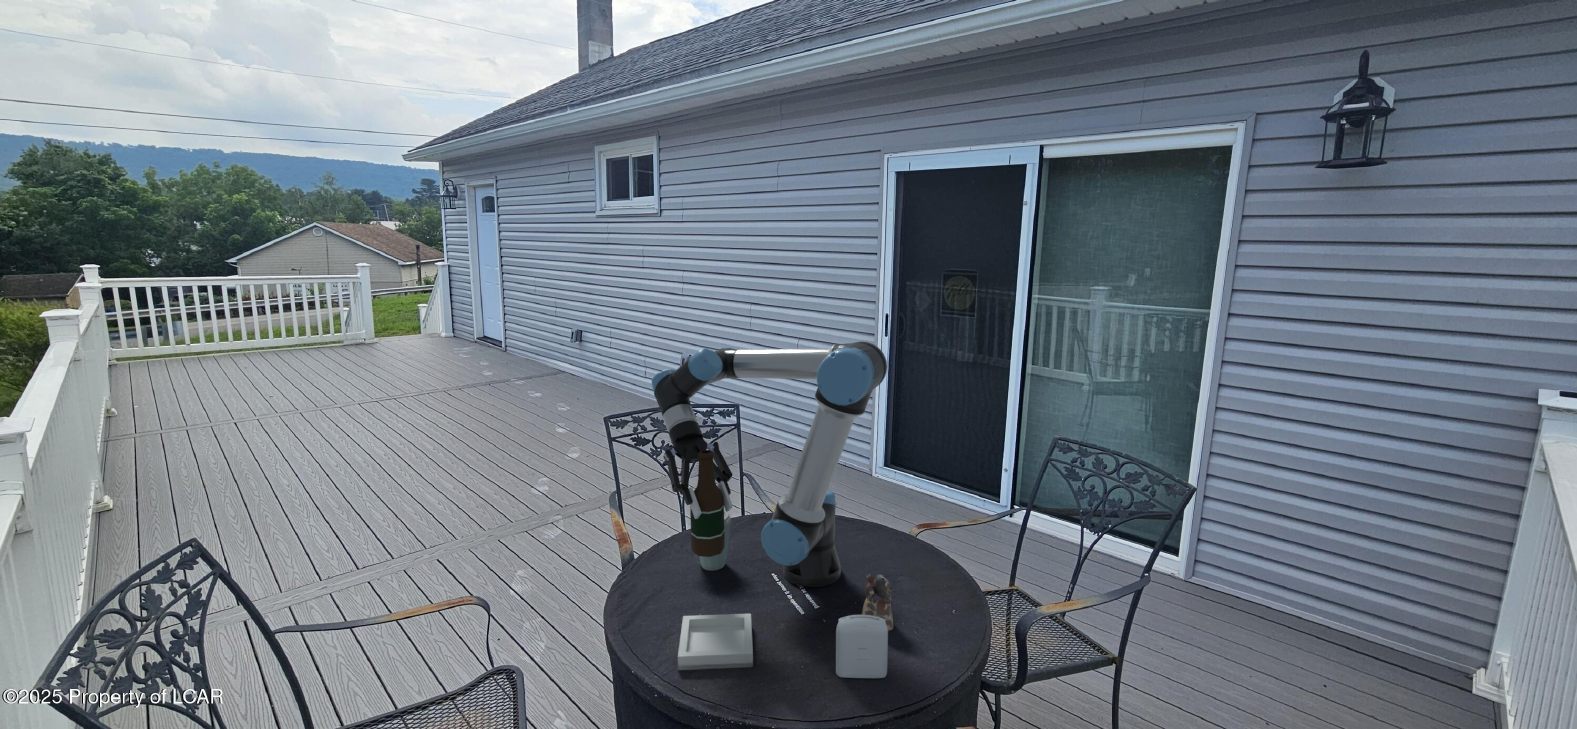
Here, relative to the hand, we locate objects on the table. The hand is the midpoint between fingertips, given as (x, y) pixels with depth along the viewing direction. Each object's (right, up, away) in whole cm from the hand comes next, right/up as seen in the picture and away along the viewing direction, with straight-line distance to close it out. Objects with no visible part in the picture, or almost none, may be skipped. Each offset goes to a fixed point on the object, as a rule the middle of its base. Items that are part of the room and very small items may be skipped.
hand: (714, 512), depth 151 cm
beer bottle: (-2, -10, +5) cm, 11 cm away
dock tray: (+2, -26, -10) cm, 28 cm away
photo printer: (+31, -28, -18) cm, 46 cm away
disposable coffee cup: (-3, -20, +27) cm, 34 cm away
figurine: (+37, -25, -1) cm, 45 cm away
